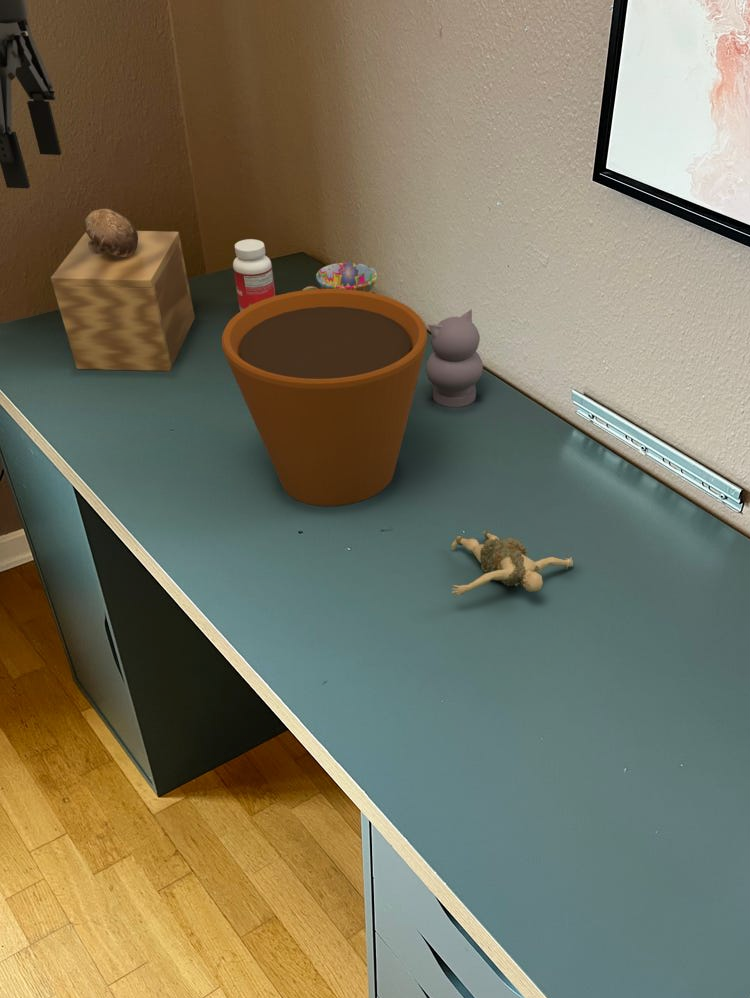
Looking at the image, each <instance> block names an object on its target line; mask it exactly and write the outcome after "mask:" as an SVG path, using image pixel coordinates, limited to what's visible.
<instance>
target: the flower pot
mask: <svg viewBox="0 0 750 998" xmlns="http://www.w3.org/2000/svg"><path fill="white" fill-rule="evenodd" d="M302 290H303V289H302ZM302 290H298V291H297V290H296V291H290V292H286V293H281V294H278V295H275V296H274V297H270V298H267V299H264V300H262V301H259V302H257V303H254V304H252V305H250V306H249V307H247V308H245V309H243V310H242V311H240V310H239V312H238V313H236V314H235V315H234V316H233V317H232V318H231V319H230V320H229V321H228V323H227V324H226V326H225V327H224V329H223V332H222V336H221V345H222V351H223V353H224V356H225V358H226V361H227V363H228V365H229V368H230V369H231V372H232V374H233V376H234V379H235V381H236V384H237V386H238V388H239V390H240V392H241V395H242V397H243V399H244V402H245V404H246V406H247V409H248V411H249V413H250V415H251V418H252V420H253V422H254V424H255V427H256V429H257V432H258V434H259V436H260V438H261V440H262V442H263V445H264V447H265V449H266V452H267V454H268V457H269V459H270V461H271V464H272V466H273V468H274V470H275V473H276V475H277V477H278V479H279V481H280V484H281V486H282V488H283V490H284V491H285V493H286V495H288V496H290V497H291V498H292V499H294V500H296V501H298V502H301V503H304V504H307V505H313V506H319V507H337V506H339V507H340V506H346V505H351V504H355V503H359V502H362V501H365V500H367V499H370V498H372V497H373V496H376V495H377V494H379V493H380V492H382V491H383V490H385V489H386V488H387V487H388V485H389V484H390V483H391V482H392V480H393V478H394V474H395V471H396V470H395V469H396V467H397V462H398V458H399V456H400V455H399V454H400V451H401V447H402V443H403V438H404V434H405V431H406V427H407V423H408V419H409V415H410V411H411V407H412V403H413V399H414V395H415V391H416V387H417V384H418V379H419V375H420V372H421V367H422V363H423V360H424V355H425V351H426V347H427V343H428V331H427V326H426V325H425V322H424V321H423V319H422V318H421V317H420V315H419V314H418V313H417V312H416V311H414V310H413V309H412V308H411V307H410V306H408V305H406V304H405V303H402V302H401V301H399V300H397V299H394V298H391V297H388V296H386V295H382V294H378V293H373V292H372V293H370V292H364V291H357V290H348V289H321V288H319V289H313V290H303V291H302Z"/></svg>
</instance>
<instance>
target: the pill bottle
mask: <svg viewBox="0 0 750 998" xmlns="http://www.w3.org/2000/svg"><path fill="white" fill-rule="evenodd" d="M234 252H235V256H236V257H235V258H234V259H233V262H232V269H233V276H234V281H235V288H236V295H237V301H238V307H239V312H240V311H242V310H243V309H245V308H247V307H249V306H250V305H252V304H254V303H257V302H259V301H262V300H264V299H267V298H270V297H274V296H276V289H275V280H274V273H273V265H272V261H271V259H270V258H269V257H268V256H267V255H266V246H265V243H264V242H263V241H261V240H259V239H254V238H247V239H241V240H239V241H237V242H236V243H235V244H234Z"/></svg>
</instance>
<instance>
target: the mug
mask: <svg viewBox="0 0 750 998" xmlns="http://www.w3.org/2000/svg"><path fill="white" fill-rule="evenodd" d="M315 279H316V281H317V283H318V285H319V287H320V288H318V287H317V286H313V285H310V286H306V287H305V288H303V289H302V290H301V291H303V290H313V289H348V290H357V291H364V292H370V293H373V290H374V287H375V284H376V281H377V279H378V273H377V270H375V269H374V268H373V267H371V266H369V265H366V264H364V263H358V262H337V263H332V264H328V265H326V266H324V267H322V268H320V269H319V270H318V271H317V273H316V274H315Z"/></svg>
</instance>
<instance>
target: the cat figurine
mask: <svg viewBox="0 0 750 998" xmlns="http://www.w3.org/2000/svg"><path fill="white" fill-rule="evenodd" d="M472 311H473V309H470V310H468V311H466V312H465V313H464V314H462V315H461V316H450V317H446V318H445V319H443V320H440V321H439V323H437V324H428V325H427V327H428V329H429V332H430V333H431V335H430V344H431V348H432V350H433V352H432V353H431V354H430V355H429V357H428V358H427V361H426V364H425V373H426V376H427V379H428V380H429V382H430V383H431V384H432V385H433V386H432V398H433V400H434V402H436V404H439V405H441V406H444V407H448V408H462V407H466V406H469V405H470V404H472V403H474V401H476V397H477V387H476V385H475V384H476V383H477V382H478V381H479V380H480V379H481V376H482V375H483V374H482V373H483V369H484V364H483V360H482V358H481V356H480V354H479V353H478V352H477V350H478V348H479V345H480V340H481V338H480V337H481V336H480V333H479V332H480V331H479V330H478V328H477V326H476V325H475V324H474V323H473V312H472Z"/></svg>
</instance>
